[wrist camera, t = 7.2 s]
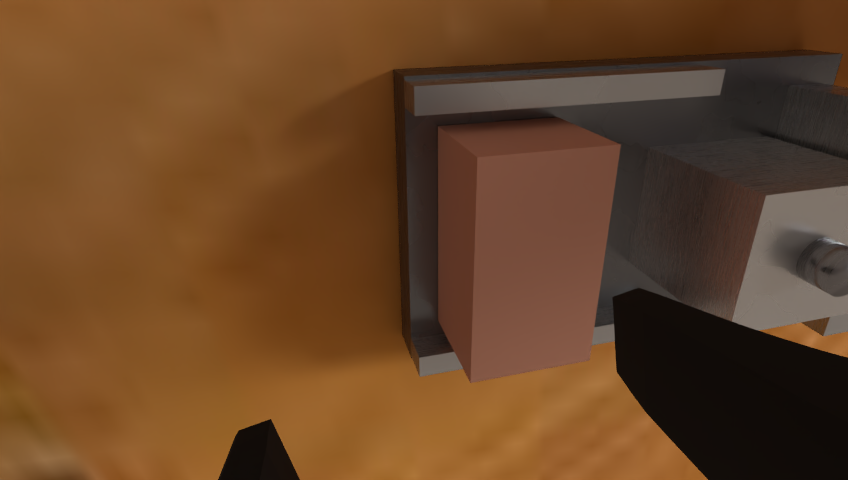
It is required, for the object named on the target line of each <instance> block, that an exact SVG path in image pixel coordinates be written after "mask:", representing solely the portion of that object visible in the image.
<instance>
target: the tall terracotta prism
mask: <svg viewBox="0 0 848 480" xmlns="http://www.w3.org/2000/svg"><path fill="white" fill-rule="evenodd" d="M620 147H621V144H618V143H616V142H614V141H611V140H609V139H607V138H605V137H602V136H600V135H598V134H595V133H593V132H591V131H588V130H586V129H584V128H582V127H579V126H577V125H575V124H572V123H570V122H568V121H566V120H563V119H561V118H559V117H553V118H540V119H526V120H513V121H499V122H486V123H472V124H458V125H445V126H438V321H439V323H440V325H441V327H442V329H443V331H444V333H445V335H446V337H447V339H448V340H449V342H450V344H451V346H452V348H453V350H454V352H455V354H456V356H457V358H458V360H459V362H460V364H461V365H462V367H463V369H464V371H465V373H466V375H467V377H468V379H469V381H470V383H472V382H477V381H483V380H488V379H493V378H498V377H504V376H509V375H514V374H520V373H525V372H530V371H535V370H541V369H546V368H551V367H557V366H562V365H567V364H572V363H578V362H583V361H588V360H590V353H591V346H592V339H593V333H594V326H595V319H596V312H597V305H598V298H599V291H600V285H601V278H602V271H603V264H604V257H605V250H606V243H607V237H608V230H609V223H610V216H611V209H612V202H613V195H614V189H615V182H616V175H617V168H618V161H619V154H620Z"/></svg>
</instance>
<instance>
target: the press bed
mask: <svg viewBox="0 0 848 480" xmlns="http://www.w3.org/2000/svg"><path fill="white" fill-rule="evenodd" d="M841 58H842V54H839V53H830V52H821V51H812V50H791V51H770V52H749V53H728V54H707V55H686V56H666V57H645V58H624V59H603V60H582V61H561V62H540V63H520V64H499V65H478V66H457V67H436V68H415V69H395V70H393V75H394V104H395V132H396V161H397V190H398V219H399V248H400V277H401V306H402V335H403V338H404V340H405V343H406V345H407V348H408V350H409V353H410V356H411V358H412V359H413V361H414V364H415V366H416V369H417V371H418V374H419V376H420V377H421V376H426V375H432V374H437V373H442V372H448V371H453V370H459V369H463V367H462V365H461V364H460V362H459V360H458V358H457V356H456V354H455V352H454V350H453V348H452V346H451V344H450V342H449V340H448V339H447V337H446V335H445V333H444V331H443V329H442V327H441V325H440V323H439V321H438V126H445V125H458V124H472V123H486V122H499V121H513V120H526V119H540V118H553V117H559V118H561V119H563V120H566V121H568V122H570V123H572V124H575V125H577V126H579V127H582V128H584V129H586V130H588V131H591V132H593V133H595V134H598V135H600V136H602V137H605V138H607V139H609V140H611V141H614V142H616V143H618V144H621V147H620V154H619V161H618V168H617V175H616V182H615V189H614V195H613V202H612V209H611V216H610V223H609V230H608V237H607V243H606V250H605V257H604V264H603V271H602V278H601V285H600V291H599V298H598V305H597V312H596V319H595V326H594V333H593V339H592V345H596V344H602V343H607V342H613V341H615V333H614V316H613V299H612V297H614V296H616V295H619V294H622V293H625V292H628V291H630V290H633V289H636V288H641V289H644V290H647V291H650V292H653V293H656V294H659V295H662V296H665V297H667V298H670V299H673V300H675V301H678V302H681V301H680V300H678V299H677V298H676V297H674V296H673V295H672V294H670V293H669V292H668V291H667V290H665V289H664V288H663V287H661V286H660V285H659V284H657V283H656V282H655V281H653V280H652V279H651V278H649V277H648V276H647V275H645V274H644V273H643V272H641V271H640V270H639V269H637V268H636V267H635V266H633V265H632V264H631V263H629V261H630V256H631V250H632V244H633V238H634V232H635V226H636V220H637V214H638V208H639V202H640V196H641V190H642V184H643V179H644V173H645V167H646V161H647V155H648V149H649V147H657V146H668V145H679V144H690V143H701V142H712V141H723V140H734V139H745V138H756V137H771V138H774V139H778V140H781V141H785V142H788V143H791V144H795V145H798V146H802V147H805V148H809V149H812V150H815V151H819V152H822V153H826V154H829V155H833V156H836V157H839V158H843V159H846V160H848V88H847V87H841V86H835V85H833V84H834V81H835V77H836V74H837V71H838V67H839V64H840V61H841ZM681 303H682V302H681ZM683 304H684V303H683ZM801 323H803V324H804V325H806V326H808V327H809V328H811V329H812V330H814V331H816V332H817V333H819V334H820V335H822V336H827V335H832V334H837V333H842V332H847V331H848V314H843V315H837V316H832V317H827V318H822V319H816V320H811V321H806V322H801Z"/></svg>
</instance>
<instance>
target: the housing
mask: <svg viewBox="0 0 848 480" xmlns="http://www.w3.org/2000/svg"><path fill="white" fill-rule="evenodd" d="M629 263H631V264H632V265H633V266H635V267H636V268H637V269H639V270H640V271H641V272H643V273H644V274H645V275H647V276H648V277H649V278H651V279H652V280H653V281H655V282H656V283H657V284H659V285H660V286H661V287H663V288H664V289H665V290H667V291H668V292H669V293H670V294H672V295H673V296H674V297H676V298H677V299H678V300H680V301H681V302H682V303H684V304H686V305H689V306H691V307H694V308H697V309H699V310H702V311H705V312H707V313H710V314H713V315H716V316H718V317H721V318H724V319H726V320H729V321H732V322H735V323H738V324H740V325H743V326H746V327H749V328H752V329H755V330H764V329H769V328H774V327H779V326H785V325H790V324H795V323H800V322H806V321H811V320H816V319H822V318H827V317H832V316H837V315H843V314H848V160H846V159H843V158H839V157H836V156H833V155H829V154H826V153H822V152H819V151H815V150H812V149H809V148H805V147H802V146H798V145H795V144H791V143H788V142H785V141H781V140H778V139H774V138H771V137H756V138H745V139H734V140H723V141H712V142H701V143H690V144H679V145H668V146H657V147H649V149H648V155H647V161H646V167H645V173H644V179H643V184H642V190H641V196H640V202H639V208H638V214H637V220H636V226H635V232H634V238H633V244H632V250H631V256H630V261H629Z"/></svg>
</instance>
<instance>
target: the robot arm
mask: <svg viewBox="0 0 848 480" xmlns="http://www.w3.org/2000/svg"><path fill="white" fill-rule="evenodd" d="M612 299H613V316H614V333H615V351H616V368H617V373H618V374H619V376H620V377H621V378H622V380H623V381H624V383H625V384H626V386H627V387H628V388H629V390H630V391H631V393H632V394H633V395H634V397H635V398H636V400H637V401H638V402H639V404H640V405H641V406H642V408H643V409H644V410H645V412H646V413H647V414H648V415H649V416H650V417H651V418H652V419H653V421H654V422H655V423H656V424H657V425H658V426H659V427H660V428H661V429H662V430H663V431H664V433H665V434H666V435H667V436H668V437H669V438H670V439H671V440H672V441H673V442H674V443H675V445H676V446H677V447H678V448H679V449H680V450H681V451H682V452H683V453H684V454H685V455H686V456H687V457H688V458H689V459H690V461H691V462H692V463H693V464H694V465H695V466H696V467H697V468H698V469H699V470H700V471H701V472H702V473H703V474H704V476H705V477H706V478H707V479H708V480H848V358H847V357H843V356H839V355H836V354H832V353H828V352H825V351H821V350H818V349H814V348H811V347H808V346H805V345H801V344H798V343H795V342H792V341H788V340H785V339H782V338H779V337H776V336H773V335H770V334H767V333H764V332H761V331H758V330H755V329H752V328H749V327H746V326H743V325H740V324H738V323H735V322H732V321H729V320H726V319H724V318H721V317H718V316H716V315H713V314H710V313H707V312H705V311H702V310H699V309H697V308H694V307H691V306H689V305H686V304H683V303H681V302H678V301H675V300H673V299H670V298H667V297H665V296H662V295H659V294H656V293H653V292H650V291H647V290H644V289H641V288H636V289H633V290H630V291H628V292H625V293H622V294H619V295H616V296H614V297H612ZM218 480H300V479H299V477H298V475H297V473H296V471H295V469H294V467H293V464H292V462H291V460H290V458H289V456H288V454H287V452H286V450H285V448H284V446H283V444H282V441H281V439H280V437H279V435H278V433H277V431H276V429H275V427H274V425H273V423H272V421H271V419H270V420H267V421H264V422H261V423H259V424H256V425H253V426H250V427H247V428H245V429H242V430H239V431H238V433H237V435H236V436H235V439H234V441H233V444H232V446H231V449H230V451H229V454H228V456H227V459H226V461H225V464H224V466H223V469H222V471H221V474H220V476H219V479H218Z"/></svg>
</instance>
